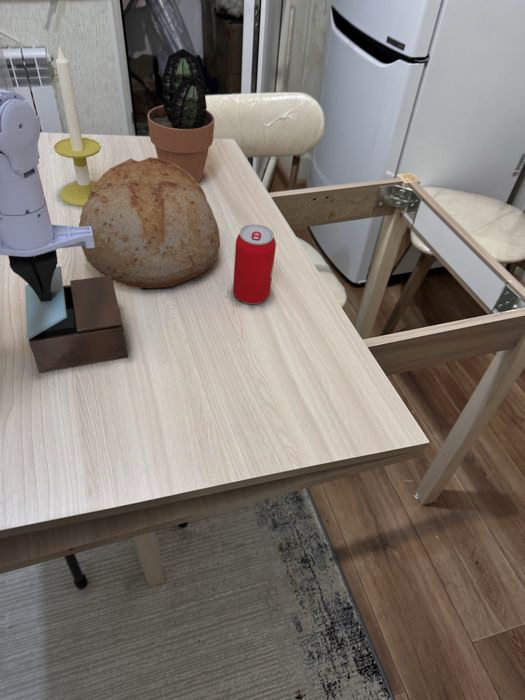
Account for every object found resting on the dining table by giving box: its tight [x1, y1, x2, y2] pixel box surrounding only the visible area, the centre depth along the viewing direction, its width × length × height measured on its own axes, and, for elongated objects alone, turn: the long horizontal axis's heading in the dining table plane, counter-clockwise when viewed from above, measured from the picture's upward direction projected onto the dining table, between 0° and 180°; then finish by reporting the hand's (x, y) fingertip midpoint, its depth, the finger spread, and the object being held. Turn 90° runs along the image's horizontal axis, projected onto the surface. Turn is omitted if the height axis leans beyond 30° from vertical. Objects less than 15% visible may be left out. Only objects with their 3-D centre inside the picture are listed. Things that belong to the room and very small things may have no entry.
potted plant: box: [146, 48, 216, 184], centre depth 100 cm, size 14×14×25 cm
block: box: [44, 308, 79, 338], centre depth 69 cm, size 4×4×4 cm
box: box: [28, 275, 129, 374], centre depth 69 cm, size 12×11×7 cm
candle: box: [53, 43, 102, 207], centre depth 90 cm, size 10×10×27 cm
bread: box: [78, 156, 221, 289], centre depth 83 cm, size 26×23×15 cm
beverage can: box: [232, 223, 277, 305], centre depth 78 cm, size 6×6×12 cm
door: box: [24, 265, 67, 340], centre depth 65 cm, size 6×11×1 cm, turn 19°
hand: (45, 296), depth 64 cm, fingers closed
